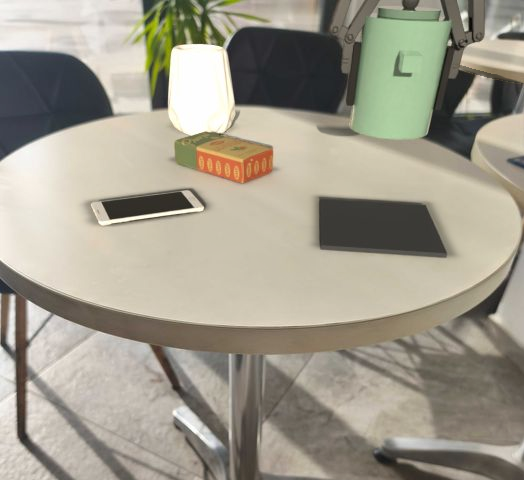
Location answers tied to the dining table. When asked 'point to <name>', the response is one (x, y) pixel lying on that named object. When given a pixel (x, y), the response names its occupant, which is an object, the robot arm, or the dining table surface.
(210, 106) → the vase
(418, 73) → the kettle
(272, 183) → the dining table surface
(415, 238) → the mat
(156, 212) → the smartphone
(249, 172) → the carton
